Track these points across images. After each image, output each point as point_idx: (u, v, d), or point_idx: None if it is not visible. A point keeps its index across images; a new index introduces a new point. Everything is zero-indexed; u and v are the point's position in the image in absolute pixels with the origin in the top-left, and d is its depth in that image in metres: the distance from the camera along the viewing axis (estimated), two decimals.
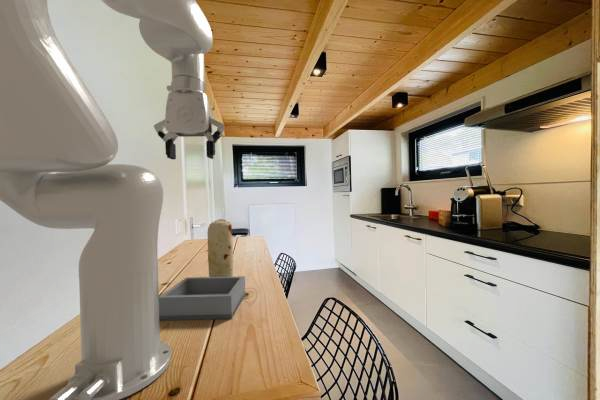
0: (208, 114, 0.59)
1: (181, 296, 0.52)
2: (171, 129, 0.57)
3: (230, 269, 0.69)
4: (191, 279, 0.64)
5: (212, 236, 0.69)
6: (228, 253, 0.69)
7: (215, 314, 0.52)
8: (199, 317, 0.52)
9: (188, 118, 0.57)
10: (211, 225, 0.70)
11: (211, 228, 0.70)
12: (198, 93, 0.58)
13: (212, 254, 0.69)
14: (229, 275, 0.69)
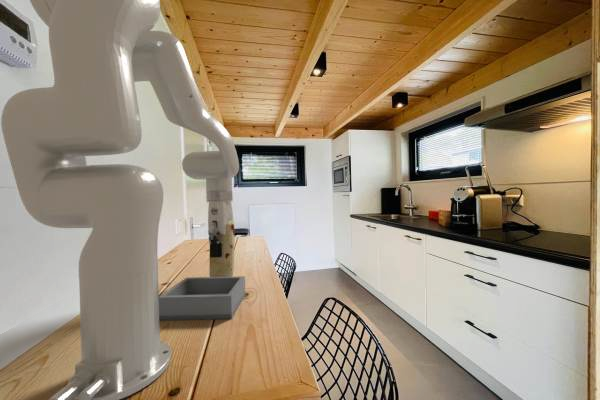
0: None
1: (181, 296, 0.52)
2: None
3: (231, 268, 0.70)
4: (191, 279, 0.64)
5: None
6: (229, 252, 0.69)
7: (215, 314, 0.52)
8: (199, 317, 0.52)
9: None
10: None
11: None
12: (230, 202, 0.76)
13: None
14: (230, 274, 0.69)
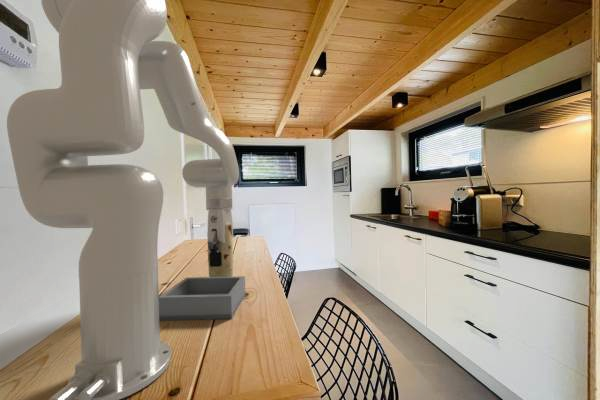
0: None
1: (181, 296, 0.52)
2: None
3: (230, 269, 0.69)
4: (191, 279, 0.64)
5: None
6: (228, 252, 0.69)
7: (215, 314, 0.52)
8: (199, 317, 0.52)
9: None
10: None
11: None
12: (230, 210, 0.75)
13: None
14: (229, 275, 0.69)
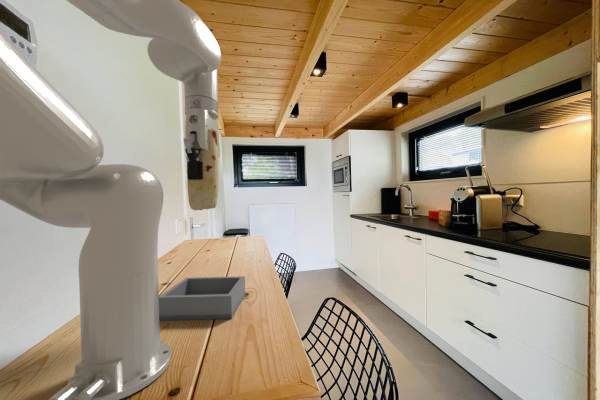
0: None
1: (181, 296, 0.52)
2: None
3: (214, 185, 0.55)
4: (191, 279, 0.64)
5: None
6: (211, 164, 0.55)
7: (215, 314, 0.52)
8: (199, 317, 0.52)
9: None
10: None
11: None
12: (216, 121, 0.61)
13: None
14: (213, 193, 0.55)
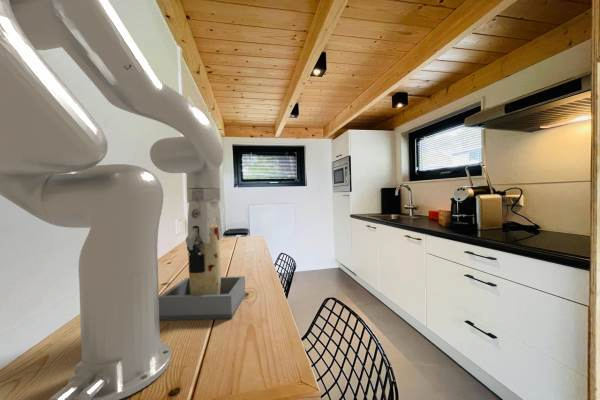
0: None
1: (181, 296, 0.52)
2: None
3: (216, 283, 0.55)
4: None
5: None
6: (214, 262, 0.54)
7: (215, 314, 0.52)
8: (199, 317, 0.52)
9: None
10: None
11: None
12: (218, 203, 0.61)
13: None
14: (215, 291, 0.55)
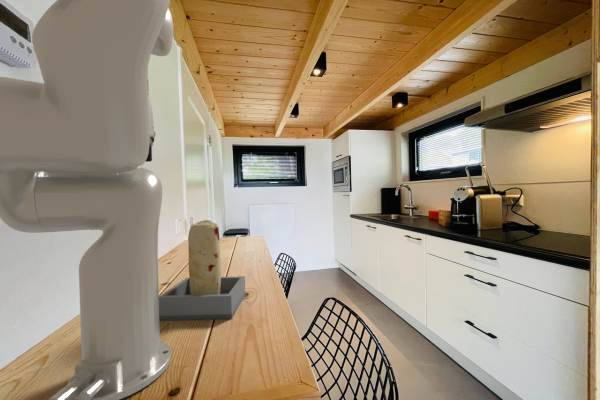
0: None
1: (181, 296, 0.52)
2: None
3: (217, 283, 0.55)
4: None
5: (194, 242, 0.55)
6: (214, 262, 0.54)
7: (215, 314, 0.52)
8: (199, 317, 0.52)
9: None
10: (192, 228, 0.55)
11: (192, 231, 0.55)
12: (148, 98, 0.59)
13: (194, 264, 0.55)
14: (215, 291, 0.55)
